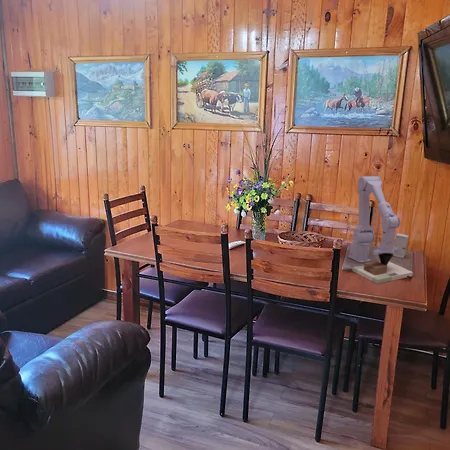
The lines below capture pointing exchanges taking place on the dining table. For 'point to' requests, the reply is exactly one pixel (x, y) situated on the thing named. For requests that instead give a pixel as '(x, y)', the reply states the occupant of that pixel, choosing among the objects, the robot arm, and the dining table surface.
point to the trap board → (392, 273)
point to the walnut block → (375, 268)
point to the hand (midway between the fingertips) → (383, 267)
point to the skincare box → (400, 245)
